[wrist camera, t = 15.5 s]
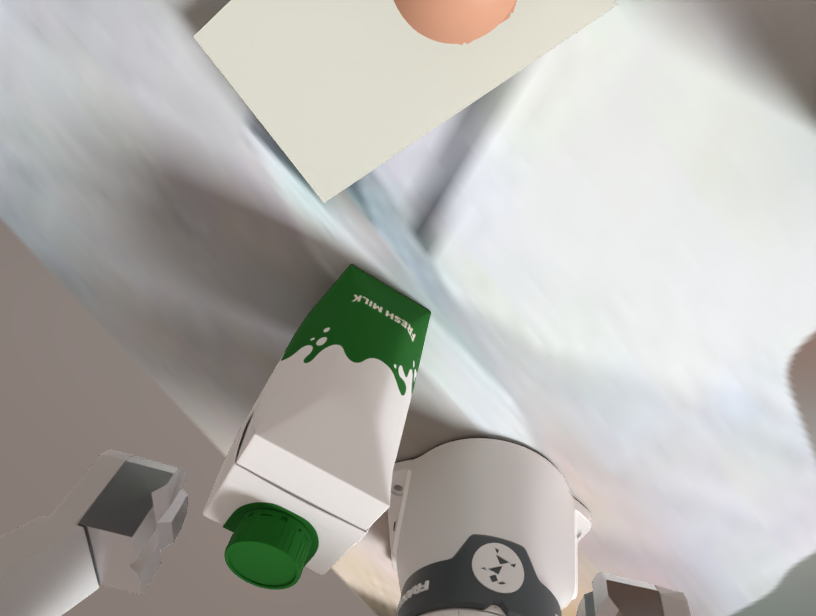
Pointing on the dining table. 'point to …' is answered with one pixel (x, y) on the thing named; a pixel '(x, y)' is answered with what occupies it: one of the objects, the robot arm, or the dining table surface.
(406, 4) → the cap
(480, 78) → the post board
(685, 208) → the dining table surface
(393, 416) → the milk carton
